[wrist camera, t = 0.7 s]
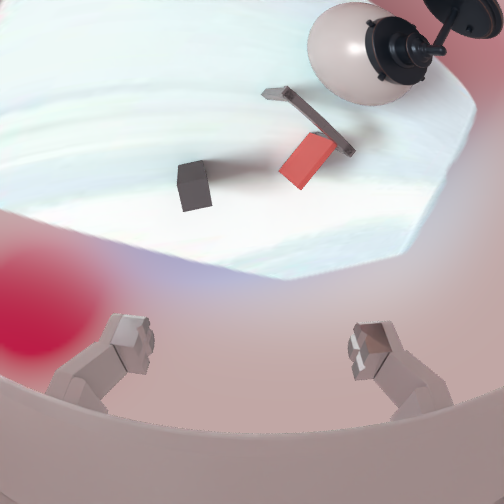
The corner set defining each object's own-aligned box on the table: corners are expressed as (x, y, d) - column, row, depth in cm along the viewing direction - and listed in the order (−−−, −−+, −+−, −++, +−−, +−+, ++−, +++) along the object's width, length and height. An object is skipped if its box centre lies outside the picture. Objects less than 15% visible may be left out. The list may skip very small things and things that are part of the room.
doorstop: (178, 165, 50) (176, 184, 40) (202, 160, 50) (207, 177, 40) (182, 187, 52) (183, 212, 42) (206, 182, 53) (212, 205, 43)
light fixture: (271, 63, 43) (389, 38, 16) (329, -13, 35) (453, -59, 8) (349, 120, 52) (481, 166, 24) (396, 46, 44) (525, 54, 16)
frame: (322, 137, 53) (355, 150, 42) (318, 142, 53) (350, 157, 43) (264, 87, 45) (287, 86, 35) (259, 93, 46) (281, 93, 36)
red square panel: (309, 132, 51) (334, 141, 43) (313, 135, 52) (337, 145, 43) (278, 171, 54) (296, 187, 46) (282, 173, 55) (300, 190, 46)
